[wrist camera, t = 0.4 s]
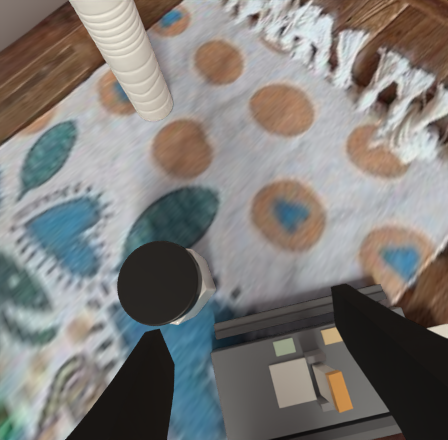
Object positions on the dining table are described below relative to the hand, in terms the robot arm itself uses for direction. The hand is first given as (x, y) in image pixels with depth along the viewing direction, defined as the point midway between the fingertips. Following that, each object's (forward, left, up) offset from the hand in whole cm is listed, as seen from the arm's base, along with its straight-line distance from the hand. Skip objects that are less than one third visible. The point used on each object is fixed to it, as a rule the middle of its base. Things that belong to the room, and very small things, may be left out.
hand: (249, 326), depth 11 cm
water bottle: (+34, +7, -26) cm, 43 cm away
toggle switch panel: (-10, -8, -26) cm, 28 cm away
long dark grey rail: (-2, -6, -26) cm, 26 cm away
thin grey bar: (-16, -6, -26) cm, 31 cm away
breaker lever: (-10, -6, -23) cm, 25 cm away
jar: (+4, +8, -26) cm, 27 cm away
